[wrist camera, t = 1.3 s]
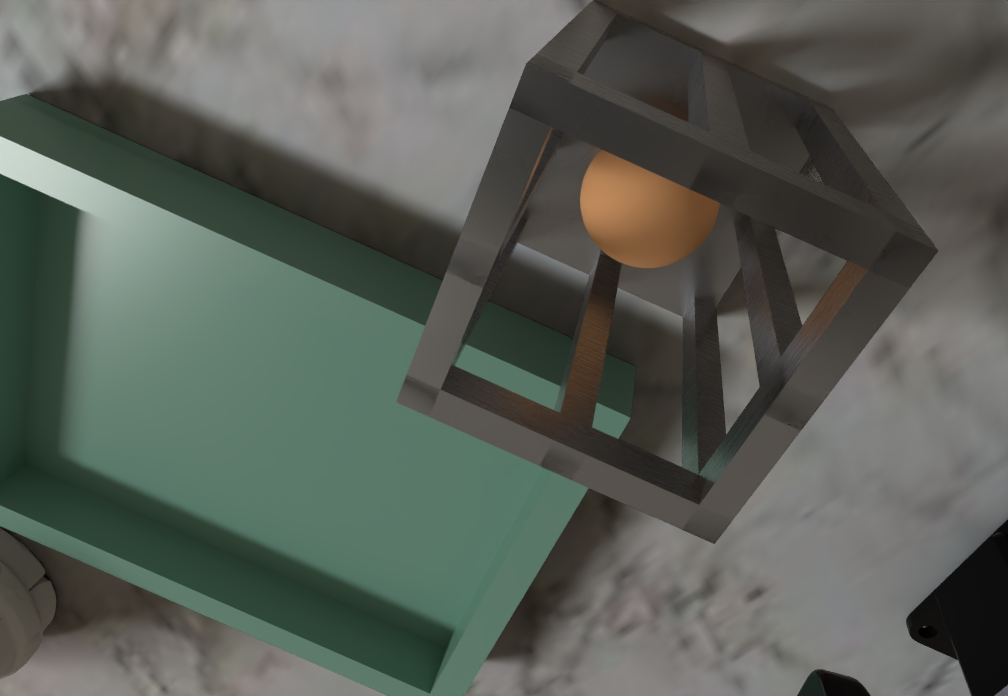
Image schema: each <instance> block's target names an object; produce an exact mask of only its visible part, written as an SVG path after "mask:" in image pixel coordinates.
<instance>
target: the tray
mask: <svg viewBox="0 0 1008 696" xmlns="http://www.w3.org/2000/svg"><path fill="white" fill-rule="evenodd" d="M442 281H443V280H441V279H438V278H436V277H434V276H432V275H430V274H427V273H425V272H423V271H421V270H418V269H416V268H414V267H412V266H409V265H407V264H405V263H403V262H401V261H398V260H396V259H394V258H392V257H389V256H387V255H385V254H383V253H380V252H378V251H376V250H374V249H371V248H369V247H367V246H365V245H363V244H360V243H358V242H356V241H354V240H351V239H349V238H347V237H345V236H342V235H340V234H338V233H336V232H334V231H331V230H329V229H327V228H325V227H322V226H320V225H318V224H316V223H313V222H311V221H309V220H307V219H304V218H302V217H300V216H298V215H296V214H293V213H291V212H289V211H287V210H284V209H282V208H280V207H278V206H275V205H273V204H271V203H269V202H267V201H264V200H262V199H260V198H258V197H255V196H253V195H251V194H249V193H246V192H244V191H242V190H240V189H238V188H235V187H233V186H231V185H229V184H226V183H224V182H222V181H220V180H217V179H215V178H213V177H211V176H208V175H206V174H204V173H202V172H200V171H197V170H195V169H193V168H191V167H188V166H186V165H184V164H182V163H179V162H177V161H175V160H173V159H171V158H168V157H166V156H164V155H162V154H159V153H157V152H155V151H153V150H150V149H148V148H146V147H144V146H141V145H139V144H137V143H135V142H133V141H130V140H128V139H126V138H124V137H121V136H119V135H117V134H115V133H112V132H110V131H108V130H106V129H104V128H101V127H99V126H97V125H95V124H92V123H90V122H88V121H86V120H83V119H81V118H79V117H77V116H74V115H72V114H70V113H68V112H66V111H63V110H61V109H59V108H57V107H54V106H52V105H50V104H48V103H45V102H43V101H41V100H39V99H37V98H34V97H32V96H30V95H28V94H24V95H21V96H17V97H14V98H10V99H6V100H3V101H0V526H1V527H4V528H6V529H8V530H11V531H13V532H15V533H17V534H20V535H22V536H24V537H27V538H29V539H31V540H33V541H36V542H38V543H40V544H42V545H45V546H47V547H49V548H52V549H54V550H56V551H58V552H61V553H63V554H65V555H68V556H70V557H72V558H74V559H77V560H79V561H81V562H84V563H86V564H88V565H90V566H93V567H95V568H97V569H100V570H102V571H104V572H106V573H109V574H111V575H113V576H116V577H118V578H120V579H122V580H125V581H127V582H129V583H132V584H134V585H136V586H138V587H141V588H143V589H145V590H148V591H150V592H152V593H154V594H157V595H159V596H161V597H164V598H166V599H168V600H170V601H173V602H175V603H177V604H180V605H182V606H184V607H186V608H189V609H191V610H193V611H196V612H198V613H200V614H202V615H205V616H207V617H209V618H212V619H214V620H216V621H218V622H221V623H223V624H225V625H228V626H230V627H232V628H234V629H237V630H239V631H241V632H244V633H246V634H248V635H250V636H253V637H255V638H257V639H260V640H262V641H264V642H266V643H269V644H271V645H273V646H275V647H278V648H280V649H282V650H285V651H287V652H289V653H291V654H294V655H296V656H298V657H301V658H303V659H305V660H307V661H310V662H312V663H314V664H317V665H319V666H321V667H323V668H326V669H328V670H330V671H333V672H335V673H337V674H339V675H342V676H344V677H346V678H349V679H351V680H353V681H355V682H358V683H360V684H362V685H365V686H367V687H369V688H371V689H374V690H376V691H378V692H381V693H383V694H385V695H387V696H464V694H465V693H466V691H467V689H468V688H469V686H470V685H471V683H472V681H473V680H474V678H475V676H476V675H477V673H478V671H479V670H480V668H481V666H482V665H483V663H484V661H485V660H486V658H487V656H488V655H489V653H490V651H491V650H492V648H493V646H494V645H495V643H496V641H497V640H498V638H499V636H500V635H501V633H502V631H503V630H504V628H505V626H506V625H507V623H508V621H509V620H510V618H511V616H512V615H513V613H514V611H515V610H516V608H517V606H518V605H519V603H520V601H521V600H522V598H523V596H524V595H525V593H526V591H527V590H528V588H529V586H530V585H531V583H532V581H533V580H534V578H535V577H536V575H537V573H538V572H539V570H540V568H541V567H542V565H543V563H544V562H545V560H546V558H547V557H548V555H549V553H550V552H551V550H552V548H553V547H554V545H555V543H556V542H557V540H558V538H559V537H560V535H561V533H562V532H563V530H564V528H565V527H566V525H567V523H568V522H569V520H570V518H571V517H572V515H573V513H574V512H575V510H576V508H577V507H578V505H579V503H580V502H581V500H582V498H583V497H584V495H585V493H586V492H587V490H588V487H585V486H583V485H581V484H579V483H576V482H574V481H572V480H570V479H567V478H565V477H563V476H561V475H558V474H556V473H554V472H552V471H549V470H547V469H545V468H543V467H540V466H538V465H536V464H534V463H531V462H529V461H527V460H525V459H523V458H520V457H518V456H516V455H514V454H511V453H509V452H507V451H505V450H502V449H500V448H498V447H496V446H493V445H491V444H489V443H487V442H484V441H482V440H480V439H478V438H475V437H473V436H471V435H469V434H466V433H464V432H462V431H460V430H457V429H455V428H453V427H451V426H448V425H446V424H444V423H442V422H439V421H437V420H435V419H433V418H430V417H428V416H426V415H424V414H421V413H419V412H417V411H415V410H412V409H410V408H408V407H406V406H403V405H401V404H399V403H397V402H396V401H397V398H398V396H399V393H400V390H401V388H402V385H403V383H404V380H405V377H406V375H407V372H408V370H409V367H410V364H411V362H412V359H413V357H414V354H415V351H416V349H417V346H418V344H419V341H420V338H421V336H422V333H423V331H424V328H425V325H426V323H427V320H428V318H429V315H430V312H431V310H432V307H433V305H434V302H435V299H436V297H437V294H438V292H439V289H440V286H441V284H442ZM572 340H573V339H572V338H570V337H568V336H566V335H564V334H561V333H559V332H557V331H555V330H552V329H550V328H548V327H546V326H543V325H541V324H539V323H537V322H534V321H532V320H530V319H528V318H526V317H523V316H521V315H519V314H517V313H514V312H512V311H510V310H508V309H505V308H503V307H501V306H499V305H497V304H494V303H492V302H490V301H488V302H487V304H486V306H485V308H484V310H483V312H482V314H481V316H480V318H479V320H478V322H477V324H476V326H475V328H474V329H473V331H472V333H471V335H470V337H469V339H468V341H467V343H466V345H465V347H464V349H463V351H462V353H461V355H460V357H459V359H458V361H457V363H456V365H455V366H456V367H458V368H461V369H463V370H465V371H467V372H470V373H472V374H474V375H476V376H478V377H481V378H483V379H485V380H487V381H490V382H492V383H494V384H496V385H499V386H501V387H503V388H505V389H508V390H510V391H512V392H514V393H517V394H519V395H521V396H523V397H525V398H528V399H530V400H532V401H534V402H537V403H539V404H541V405H543V406H546V407H548V408H550V409H552V410H554V408H555V404H556V401H557V397H558V393H559V389H560V386H561V382H562V378H563V374H564V370H565V367H566V363H567V359H568V355H569V351H570V348H571V344H572ZM635 375H636V367H635V366H633V365H631V364H628V363H626V362H624V361H622V360H619V359H617V358H615V357H613V356H610V355H608V354H606V353H605V359H604V364H603V370H602V376H601V381H600V387H599V392H598V398H597V403H596V409H595V414H594V420H593V425H592V427H593V428H595V429H597V430H599V431H602V432H604V433H606V434H608V435H611V436H613V437H615V438H617V439H619V437H620V435H621V434H622V432H623V430H624V429H625V427H626V425H627V424H628V422H629V420H630V419H631V413H632V403H633V394H634V385H635Z"/></svg>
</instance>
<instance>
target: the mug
mask: <svg viewBox="0 0 1008 696" xmlns="http://www.w3.org/2000/svg"><path fill="white" fill-rule="evenodd" d="M45 572H46V571H45V569H44V568H43V566H42V565H41V563H40V562H39V561H38V560H37V559H36V558H35V557H34V555H33V554H32V553H31V551H30V550H29V549H28V548H27V547H26V546H24V545H23V544H22V543H21V542H20V541H19V540H17V539H16V538H14V537H13V536H12V535H10V534H9V533H7V532H6V531H5V530H4V529H2V528H1V527H0V679H1V678H4V677H7V676H9V675H11V674H13V673H15V672H16V671H18V670H19V669H20V668H21V667H22V666H24V665H25V664H26V662H27V661H28V660H29V659H30V658H31V656H32V655H33V654H34V653H35V651H36V650H37V648H38V647H39V645H40V642H41V640H42V635H43V631H44V630H45V629H46V627H47V626H48V625H49V624H50V623H51V622H52V620H53V618H54V614H55V609H56V594H55V591H54V589H53V586H52V583H51V581H49V580H48V579H46V578H45V577H43V575H44V574H45Z"/></svg>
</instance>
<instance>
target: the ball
mask: <svg viewBox="0 0 1008 696" xmlns="http://www.w3.org/2000/svg"><path fill="white" fill-rule="evenodd" d="M719 206H720V203H719V202H717V201H714V200H712V199H710V198H708V197H706V196H703V195H701V194H699V193H697V192H695V191H692V190H690V189H688V188H686V187H683V186H681V185H679V184H677V183H675V182H672V181H670V180H668V179H666V178H664V177H661V176H659V175H657V174H655V173H653V172H650V171H648V170H646V169H644V168H642V167H639V166H637V165H635V164H633V163H630V162H628V161H626V160H624V159H622V158H619V157H617V156H615V155H613V154H611V153H608V152H606V151H604V150H602V149H601V150H600V151H599V152H598V154H597V155H596V156H595V158H594V159H593V160H592V162H591V163H590V165H589V167H588V169H587V171H586V173H585V176H584V179H583V183H582V187H581V195H580V207H581V213H582V218H583V221H584V224H585V227H586V229H587V231H588V233H589V235H590V236H591V238H592V240H593V241H594V242H595V243H596V245H597V246H598V247H599V248H600V249H601V250H602V251H603V252H604V253H606V254H607V255H608V256H610V257H611V258H613V259H615V260H617V261H618V262H621V263H623V264H626V265H629V266H633V267H639V268H657V267H663V266H667V265H670V264H673V263H676V262H678V261H680V260H682V259H684V258H685V257H687V256H688V255H689V254H691V253H692V252H694V251H695V250H696V249H697V248H698V247H699V246H700V245H701V244H702V243H703V242H704V241H705V239H706V238H707V236H708V235H709V233H710V232H711V230H712V228H713V226H714V224H715V221H716V218H717V215H718V211H719Z"/></svg>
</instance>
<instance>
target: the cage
mask: <svg viewBox="0 0 1008 696" xmlns="http://www.w3.org/2000/svg"><path fill="white" fill-rule="evenodd" d="M601 149H602V150H604V151H606V152H608V153H611V154H613V155H615V156H617V157H619V158H622V159H624V160H626V161H628V162H630V163H633V164H635V165H637V166H639V167H642V168H644V169H646V170H648V171H650V172H653V173H655V174H657V175H659V176H661V177H664V178H666V179H668V180H670V181H672V182H675V183H677V184H679V185H681V186H683V187H686V188H688V189H690V190H692V191H695V192H697V193H699V194H701V195H703V196H706V197H708V198H710V199H712V200H714V201H717V202H719V203H720V206H719V211H718V215H717V218H716V221H715V224H714V226H713V228H712V230H711V232H710V233H709V235H708V236H707V238H706V239H705V241H704V242H703V243H702V244H701V245H700V246H699V247H698V248H697V249H696V250H695V251H694V252H692V253H691V254H689V255H688V256H687V257H685V258H684V259H682V260H680V261H678V262H676V263H673V264H670V265H667V266H663V267H657V268H639V267H633V266H629V265H626V264H623V263H621V262H618V261H617V260H615V259H613V258H611V257H610V256H608V255H607V254H606V253H604V252H603V251H602V250H601V249H600V248H599V247H598V246H597V245H596V243H595V242H594V241H593V240H592V238H591V236H590V235H589V233H588V231H587V229H586V227H585V224H584V221H583V218H582V213H581V207H580V195H581V187H582V183H583V179H584V176H585V173H586V171H587V169H588V167H589V165H590V163H591V162H592V160H593V159H594V158H595V156H596V155H597V154H598V152H599V151H600V150H601ZM809 156H810V157H811V159H812V161H813V163H814V165H815V167H816V169H817V171H818V173H819V175H820V177H821V179H822V181H823V183H824V184H822V183H820V182H818V181H816V180H813V179H811V178H809V177H807V176H805V175H802V174H800V173H799V172H800V171H801V169H802V168H803V166H804V164H805V163H806V161H807V159H808V158H809ZM775 228H776V229H778V230H781V231H783V232H785V233H787V234H789V235H792V236H794V237H796V238H798V239H801V240H803V241H805V242H807V243H809V244H812V245H814V246H816V247H818V248H820V249H823V250H825V251H827V252H829V253H831V254H834V255H836V256H838V257H840V258H843V259H845V260H847V263H846V264H845V266H844V267H843V269H842V270H841V271H840V273H839V274H838V276H837V277H836V279H835V280H834V281H833V283H832V284H831V286H830V287H829V289H828V290H827V291H826V293H825V294H824V296H823V297H822V299H821V300H820V301H819V303H818V304H817V306H816V307H815V309H814V310H813V311H812V313H811V314H810V316H809V317H808V319H807V320H806V321H805V323H804V324H803V326H802V323H801V320H800V316H799V313H798V309H797V306H796V302H795V299H794V295H793V292H792V288H791V284H790V281H789V277H788V274H787V270H786V267H785V263H784V260H783V256H782V253H781V249H780V246H779V242H778V238H777V235H776V231H775ZM517 243H520V244H522V245H524V246H527V247H529V248H531V249H533V250H536V251H538V252H540V253H542V254H544V255H547V256H549V257H551V258H553V259H556V260H558V261H560V262H562V263H564V264H567V265H569V266H571V267H573V268H576V269H578V270H580V271H582V272H584V273H587V274H589V275H590V276H589V279H588V283H587V287H586V291H585V295H584V298H583V302H582V306H581V310H580V314H579V317H578V321H577V325H576V329H575V332H574V336H573V340H572V344H571V348H570V351H569V355H568V359H567V363H566V367H565V370H564V374H563V378H562V382H561V386H560V389H559V393H558V397H557V401H556V404H555V408H554V410H552V409H550V408H548V407H546V406H543V405H541V404H539V403H537V402H534V401H532V400H530V399H528V398H525V397H523V396H521V395H519V394H517V393H514V392H512V391H510V390H508V389H505V388H503V387H501V386H499V385H496V384H494V383H492V382H490V381H487V380H485V379H483V378H481V377H478V376H476V375H474V374H472V373H470V372H467V371H465V370H463V369H461V368H458V367H456V366H455V365H456V363H457V361H458V359H459V357H460V355H461V353H462V351H463V349H464V347H465V345H466V343H467V341H468V339H469V337H470V335H471V333H472V331H473V329H474V328H475V326H476V324H477V322H478V320H479V318H480V316H481V314H482V312H483V310H484V308H485V306H486V304H487V302H488V300H489V298H490V296H491V294H492V292H493V290H494V288H495V286H496V284H497V282H498V280H499V278H500V276H501V274H502V272H503V270H504V268H505V266H506V265H507V263H508V261H509V259H510V257H511V255H512V253H513V251H514V249H515V247H516V245H517ZM937 252H938V249H937V248H936V247H935V245H934V244H933V243H932V241H931V240H930V239H929V237H928V236H927V235H926V233H925V232H924V231H923V229H922V228H921V227H920V225H919V224H918V223H917V221H916V220H915V219H914V217H913V216H912V215H911V213H910V212H909V211H908V209H907V208H906V207H905V205H904V204H903V203H902V201H901V200H900V199H899V197H898V196H897V195H896V193H895V192H894V191H893V189H892V188H891V186H890V185H889V184H888V182H887V181H886V180H885V178H884V177H883V176H882V174H881V173H880V172H879V170H878V169H877V168H876V166H875V165H874V164H873V162H872V161H871V160H870V158H869V157H868V156H867V154H866V153H865V152H864V150H863V149H862V148H861V146H860V145H859V144H858V142H857V141H856V140H855V138H854V137H853V136H852V134H851V133H850V132H849V130H848V129H847V128H846V126H845V125H844V124H843V122H842V121H841V120H840V118H839V117H838V116H837V114H836V113H835V112H834V110H833V109H832V108H829V107H827V106H825V105H823V104H821V103H818V102H816V101H814V100H812V99H810V98H808V97H805V96H803V95H801V94H799V93H797V92H794V91H792V90H790V89H788V88H786V87H783V86H781V85H779V84H777V83H775V82H772V81H770V80H768V79H766V78H764V77H761V76H759V75H757V74H755V73H753V72H750V71H748V70H746V69H744V68H742V67H740V66H737V65H735V64H733V63H731V62H729V61H726V60H724V59H722V58H720V57H718V56H715V55H713V54H711V53H709V52H707V51H704V50H702V49H700V48H698V47H696V46H693V45H691V44H689V43H687V42H685V41H682V40H680V39H678V38H676V37H674V36H672V35H669V34H667V33H665V32H663V31H661V30H658V29H656V28H654V27H652V26H650V25H647V24H645V23H643V22H641V21H639V20H636V19H634V18H632V17H630V16H628V15H625V14H623V13H621V12H619V11H617V10H615V9H612V8H610V7H608V6H606V5H604V4H601V3H599V2H597V1H595V0H593V1H592V2H591V3H589V4H588V5H587V6H586V7H585V8H584V9H583V10H582V11H581V12H580V13H579V14H578V15H577V16H576V17H575V18H574V19H573V20H572V21H571V22H569V23H568V24H567V25H566V26H565V27H564V28H563V29H562V30H561V31H560V32H559V33H558V34H557V35H556V36H555V37H554V38H553V39H552V40H551V41H549V42H548V43H547V44H546V45H545V46H544V47H543V48H542V49H541V50H540V51H539V52H538V53H537V54H536V55H535V56H534V57H533V58H532V59H531V60H530V61H528V62H527V63H526V66H525V68H524V71H523V74H522V76H521V79H520V81H519V84H518V87H517V89H516V92H515V94H514V97H513V99H512V102H511V105H510V107H509V110H508V112H507V115H506V118H505V120H504V123H503V125H502V128H501V131H500V133H499V136H498V138H497V141H496V144H495V146H494V149H493V151H492V154H491V157H490V159H489V162H488V164H487V167H486V170H485V172H484V175H483V177H482V180H481V183H480V185H479V188H478V190H477V193H476V196H475V198H474V201H473V203H472V206H471V209H470V211H469V214H468V216H467V219H466V222H465V224H464V227H463V229H462V232H461V235H460V237H459V240H458V242H457V245H456V247H455V250H454V253H453V255H452V258H451V260H450V263H449V266H448V268H447V271H446V273H445V276H444V279H443V281H442V284H441V286H440V289H439V292H438V294H437V297H436V299H435V302H434V305H433V307H432V310H431V312H430V315H429V318H428V320H427V323H426V325H425V328H424V331H423V333H422V336H421V338H420V341H419V344H418V346H417V349H416V351H415V354H414V357H413V359H412V362H411V364H410V367H409V370H408V372H407V375H406V377H405V380H404V383H403V385H402V388H401V390H400V393H399V396H398V398H397V401H396V402H397V403H399V404H401V405H403V406H406V407H408V408H410V409H412V410H415V411H417V412H419V413H421V414H424V415H426V416H428V417H430V418H433V419H435V420H437V421H439V422H442V423H444V424H446V425H448V426H451V427H453V428H455V429H457V430H460V431H462V432H464V433H466V434H469V435H471V436H473V437H475V438H478V439H480V440H482V441H484V442H487V443H489V444H491V445H493V446H496V447H498V448H500V449H502V450H505V451H507V452H509V453H511V454H514V455H516V456H518V457H520V458H523V459H525V460H527V461H529V462H531V463H534V464H536V465H538V466H540V467H543V468H545V469H547V470H549V471H552V472H554V473H556V474H558V475H561V476H563V477H565V478H567V479H570V480H572V481H574V482H576V483H579V484H581V485H583V486H585V487H588V488H590V489H592V490H594V491H597V492H599V493H601V494H603V495H606V496H608V497H610V498H612V499H615V500H617V501H619V502H621V503H624V504H626V505H628V506H630V507H633V508H635V509H637V510H639V511H642V512H644V513H646V514H648V515H651V516H653V517H655V518H657V519H660V520H662V521H664V522H666V523H669V524H671V525H673V526H675V527H678V528H680V529H682V530H684V531H686V532H689V533H691V534H693V535H695V536H698V537H700V538H702V539H704V540H707V541H709V542H711V543H713V544H715V543H716V541H717V540H718V539H719V537H720V536H721V535H722V533H723V532H724V531H725V529H726V528H727V527H728V526H729V524H730V523H731V522H732V520H733V519H734V518H735V516H736V515H737V514H738V512H739V511H740V510H741V508H742V507H743V506H744V505H745V503H746V502H747V501H748V499H749V498H750V497H751V495H752V494H753V493H754V491H755V490H756V489H757V488H758V486H759V485H760V484H761V482H762V481H763V480H764V478H765V477H766V476H767V474H768V473H769V472H770V470H771V469H772V468H773V467H774V465H775V464H776V463H777V461H778V460H779V459H780V457H781V456H782V455H783V453H784V452H785V451H786V450H787V448H788V447H789V446H790V444H791V443H792V442H793V440H794V439H795V438H796V436H797V435H798V434H799V432H800V431H801V430H802V429H803V427H804V426H805V425H806V423H807V422H808V421H809V419H810V418H811V417H812V415H813V414H814V413H815V412H816V410H817V409H818V408H819V406H820V405H821V404H822V402H823V401H824V400H825V398H826V397H827V396H828V395H829V393H830V392H831V391H832V389H833V388H834V387H835V385H836V384H837V383H838V381H839V380H840V379H841V377H842V376H843V375H844V374H845V372H846V371H847V370H848V368H849V367H850V366H851V364H852V363H853V362H854V360H855V359H856V358H857V357H858V355H859V354H860V353H861V351H862V350H863V349H864V347H865V346H866V345H867V343H868V342H869V341H870V339H871V338H872V337H873V336H874V334H875V333H876V332H877V330H878V329H879V328H880V326H881V325H882V324H883V322H884V321H885V320H886V319H887V317H888V316H889V315H890V313H891V312H892V311H893V309H894V308H895V307H896V305H897V304H898V303H899V301H900V300H901V299H902V298H903V296H904V295H905V294H906V292H907V291H908V290H909V288H910V287H911V286H912V284H913V283H914V282H915V281H916V279H917V278H918V277H919V275H920V274H921V273H922V271H923V270H924V269H925V267H926V266H927V265H928V263H929V262H930V261H931V260H932V258H933V257H934V256H935V254H936V253H937ZM740 268H741V270H742V276H743V282H744V289H745V295H746V302H747V308H748V314H749V321H750V327H751V333H752V340H753V346H754V352H755V359H756V365H757V372H758V378H759V384H760V387H759V389H758V390H757V392H756V393H755V395H754V396H753V397H752V399H751V400H750V402H749V403H748V405H747V406H746V407H745V409H744V410H743V412H742V413H741V415H740V416H739V417H738V419H737V420H736V422H735V423H734V425H733V426H732V427H731V429H730V430H729V432H728V433H727V435H726V427H725V414H724V402H723V389H722V376H721V363H720V350H719V337H718V325H717V312H716V307H717V305H718V304H719V302H720V300H721V299H722V297H723V296H724V294H725V292H726V291H727V289H728V287H729V286H730V284H731V283H732V281H733V279H734V278H735V276H736V275H737V273H738V271H739V270H740ZM617 287H618V288H620V289H622V290H624V291H627V292H629V293H631V294H633V295H636V296H638V297H640V298H642V299H644V300H647V301H649V302H651V303H653V304H656V305H658V306H660V307H662V308H664V309H667V310H669V311H671V312H673V313H676V314H678V315H680V316H682V317H683V394H682V467H680V466H678V465H676V464H673V463H671V462H669V461H667V460H664V459H662V458H660V457H658V456H655V455H653V454H651V453H649V452H646V451H644V450H642V449H640V448H637V447H635V446H633V445H631V444H628V443H626V442H624V441H622V440H620V439H617V438H615V437H613V436H611V435H608V434H606V433H604V432H602V431H599V430H597V429H595V428H593V427H592V425H593V420H594V414H595V409H596V403H597V398H598V392H599V387H600V381H601V376H602V370H603V364H604V359H605V353H606V348H607V342H608V337H609V331H610V326H611V320H612V315H613V309H614V304H615V298H616V293H617Z"/></svg>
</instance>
